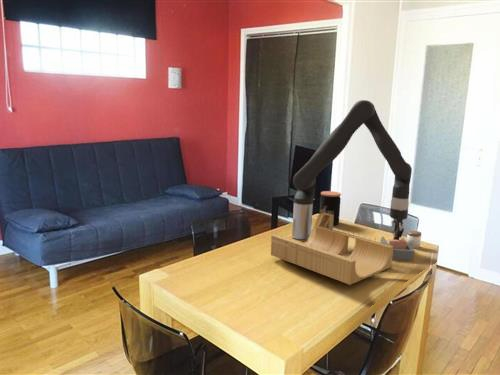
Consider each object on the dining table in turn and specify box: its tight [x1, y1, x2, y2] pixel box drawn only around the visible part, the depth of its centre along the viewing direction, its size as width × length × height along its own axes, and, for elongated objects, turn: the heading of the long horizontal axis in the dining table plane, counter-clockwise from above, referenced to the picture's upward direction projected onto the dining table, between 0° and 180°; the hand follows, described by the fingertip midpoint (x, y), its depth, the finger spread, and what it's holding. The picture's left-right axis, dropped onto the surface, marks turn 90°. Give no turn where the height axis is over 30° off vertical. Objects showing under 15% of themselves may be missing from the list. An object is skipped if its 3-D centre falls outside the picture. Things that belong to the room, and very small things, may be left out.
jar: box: [406, 230, 422, 250], centre depth 203 cm, size 6×6×7 cm
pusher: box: [388, 238, 407, 250], centre depth 192 cm, size 7×2×5 cm, turn 84°
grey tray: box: [380, 236, 415, 262], centre depth 193 cm, size 10×19×4 cm, turn 174°
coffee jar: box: [319, 190, 342, 227], centre depth 235 cm, size 11×11×18 cm
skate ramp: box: [270, 209, 394, 286], centre depth 180 cm, size 40×35×16 cm
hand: (395, 244), depth 195 cm, fingers closed
